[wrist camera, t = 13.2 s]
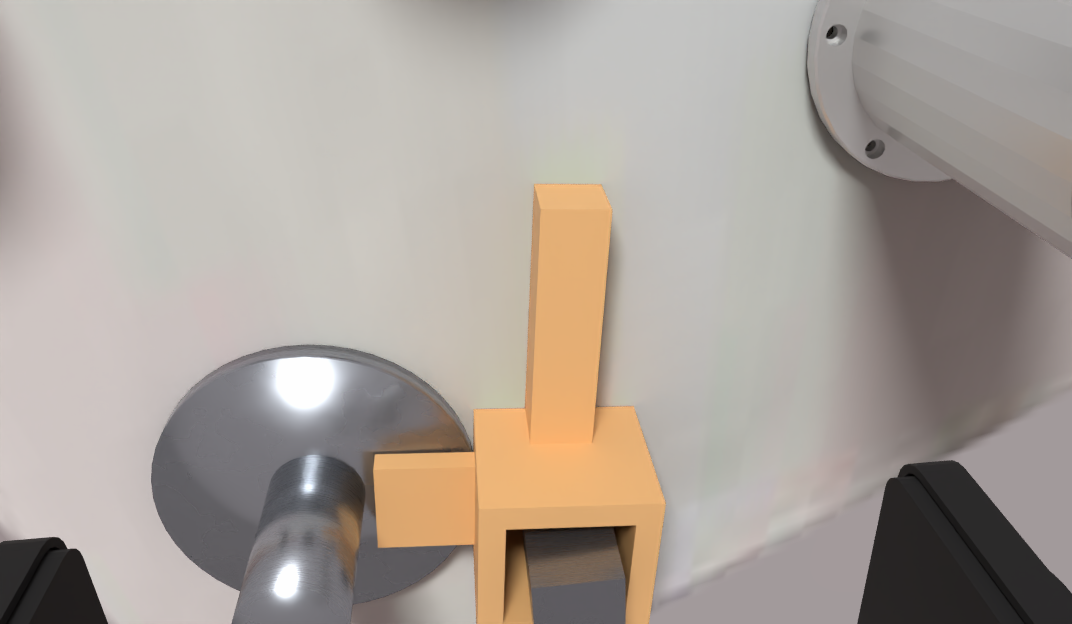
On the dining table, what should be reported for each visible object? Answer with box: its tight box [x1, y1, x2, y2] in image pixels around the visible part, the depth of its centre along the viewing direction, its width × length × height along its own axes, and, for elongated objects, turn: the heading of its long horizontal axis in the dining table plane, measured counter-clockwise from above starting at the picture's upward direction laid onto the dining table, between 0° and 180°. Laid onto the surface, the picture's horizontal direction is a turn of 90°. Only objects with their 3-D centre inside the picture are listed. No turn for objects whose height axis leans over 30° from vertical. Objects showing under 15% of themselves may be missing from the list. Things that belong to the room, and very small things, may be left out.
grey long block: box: [522, 526, 626, 624], centre depth 42 cm, size 4×4×10 cm
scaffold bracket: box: [373, 184, 666, 624], centre depth 40 cm, size 13×20×8 cm, turn 178°
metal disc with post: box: [151, 345, 472, 624], centre depth 41 cm, size 16×16×10 cm
